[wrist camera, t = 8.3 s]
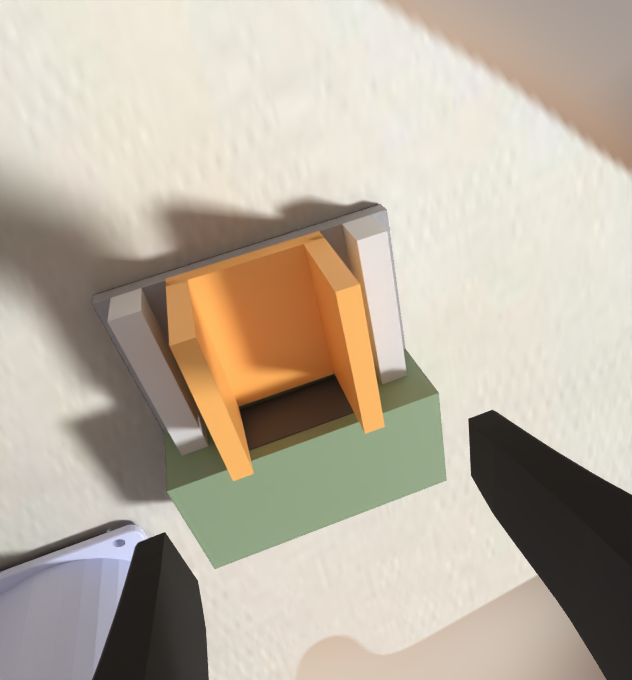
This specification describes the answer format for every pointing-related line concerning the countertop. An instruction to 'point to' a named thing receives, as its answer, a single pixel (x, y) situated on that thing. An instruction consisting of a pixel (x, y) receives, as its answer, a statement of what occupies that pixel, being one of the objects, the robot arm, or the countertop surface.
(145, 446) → the countertop surface
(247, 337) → the chute
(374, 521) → the countertop surface
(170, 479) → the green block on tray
